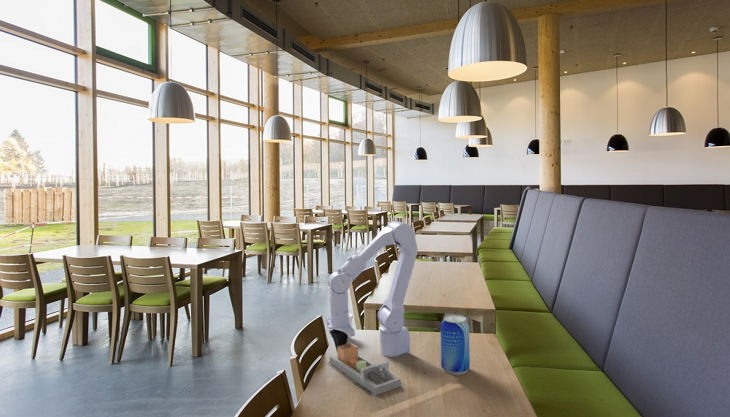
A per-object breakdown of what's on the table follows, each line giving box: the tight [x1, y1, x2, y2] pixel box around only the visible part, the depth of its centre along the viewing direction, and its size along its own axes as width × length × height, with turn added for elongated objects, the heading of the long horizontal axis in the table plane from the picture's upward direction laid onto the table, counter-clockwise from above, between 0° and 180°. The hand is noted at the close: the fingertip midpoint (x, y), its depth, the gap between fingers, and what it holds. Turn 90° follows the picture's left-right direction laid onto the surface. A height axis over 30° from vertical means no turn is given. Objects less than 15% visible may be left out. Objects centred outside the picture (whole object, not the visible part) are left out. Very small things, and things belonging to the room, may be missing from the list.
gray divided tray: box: [329, 353, 405, 398], centre depth 129 cm, size 11×26×3 cm, turn 33°
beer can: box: [440, 314, 471, 376], centre depth 131 cm, size 8×8×16 cm
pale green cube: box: [355, 361, 366, 374], centre depth 129 cm, size 3×3×3 cm
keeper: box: [337, 342, 359, 370], centre depth 134 cm, size 5×6×6 cm
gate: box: [360, 360, 390, 387], centre depth 123 cm, size 9×1×6 cm, turn 123°
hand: (340, 352), depth 139 cm, fingers closed
